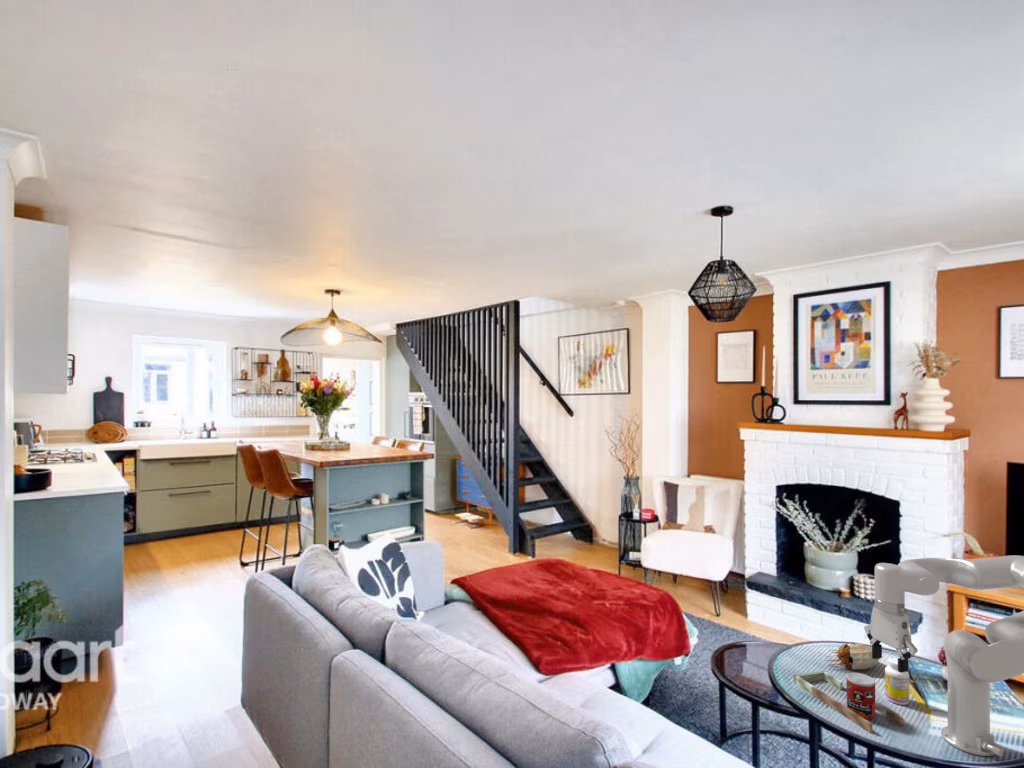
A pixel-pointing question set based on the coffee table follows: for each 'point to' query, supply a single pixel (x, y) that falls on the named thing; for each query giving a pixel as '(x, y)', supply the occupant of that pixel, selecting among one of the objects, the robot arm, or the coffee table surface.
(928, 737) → the coffee table surface
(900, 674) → the supplement bottle
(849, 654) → the nautilus
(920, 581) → the robot arm
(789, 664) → the coffee table surface
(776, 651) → the coffee table surface
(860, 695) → the canned food
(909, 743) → the coffee table surface
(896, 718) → the wooden kitchen tongs
